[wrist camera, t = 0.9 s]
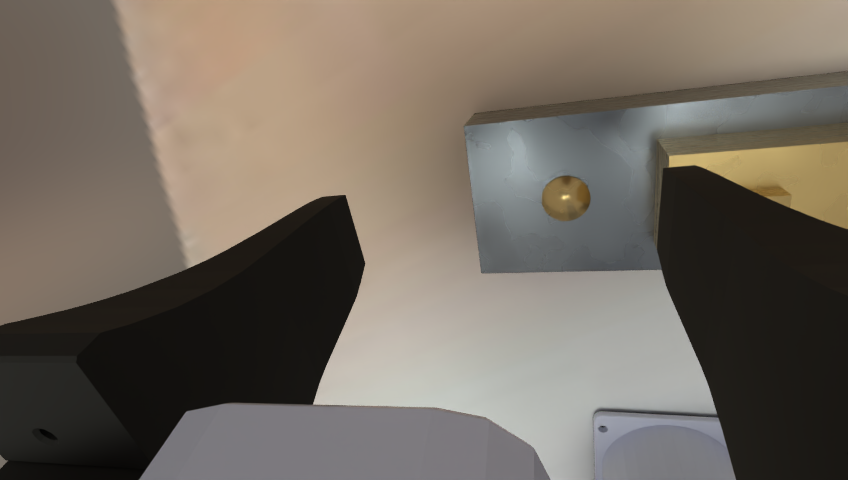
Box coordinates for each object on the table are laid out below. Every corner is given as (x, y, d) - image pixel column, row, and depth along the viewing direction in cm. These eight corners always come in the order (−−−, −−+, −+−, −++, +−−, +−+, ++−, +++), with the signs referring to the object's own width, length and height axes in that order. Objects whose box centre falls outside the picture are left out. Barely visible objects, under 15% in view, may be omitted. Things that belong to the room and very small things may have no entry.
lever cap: (852, 235, 19) (905, 275, 16) (653, 242, 21) (668, 279, 18) (875, 120, 17) (939, 141, 14) (656, 139, 19) (674, 162, 16)
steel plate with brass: (968, 229, 21) (1031, 263, 18) (489, 246, 26) (481, 274, 23) (1020, 51, 18) (1103, 58, 15) (474, 113, 24) (463, 126, 21)
